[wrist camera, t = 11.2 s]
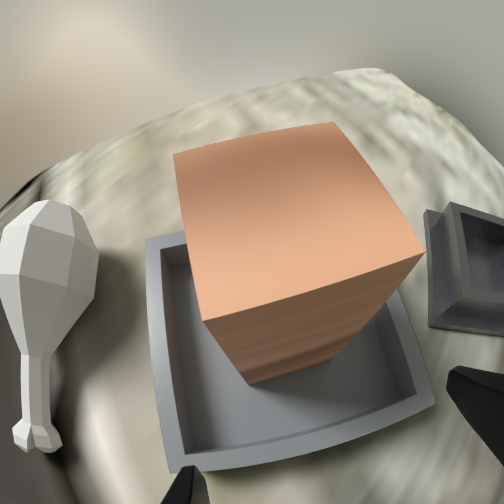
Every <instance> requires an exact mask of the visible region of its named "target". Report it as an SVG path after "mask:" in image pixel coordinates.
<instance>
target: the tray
mask: <svg viewBox="0 0 504 504" xmlns="http://www.w3.org/2000/svg"><path fill="white" fill-rule="evenodd" d="M145 269H146V297H147V315H148V330H149V342H150V353H151V362H152V371H153V380H154V387H155V395H156V402H157V408H158V415H159V421H160V427H161V433H162V438H163V443H164V448H165V453H166V458H167V463H168V468H169V472H170V474H173V473H179V471H180V469H181V468H182V467H183V466H189V465H195V466H196V467H197V468H198V470H199V471H200V472H205V471H215V470H224V469H232V468H239V467H245V466H252V465H257V464H263V463H268V462H273V461H278V460H282V459H287V458H291V457H295V456H299V455H303V454H307V453H311V452H314V451H318V450H322V449H325V448H328V447H332V446H335V445H338V444H341V443H344V442H347V441H350V440H353V439H356V438H359V437H361V436H364V435H367V434H369V433H372V432H375V431H377V430H380V429H382V428H384V427H387V426H389V425H392V424H394V423H396V422H399V421H401V420H403V419H405V418H407V417H410V416H412V415H414V414H416V413H418V412H420V411H422V410H424V409H426V408H428V407H430V406H432V405H434V404H436V400H435V397H434V393H433V390H432V386H431V383H430V379H429V376H428V373H427V370H426V366H425V363H424V360H423V357H422V354H421V351H420V348H419V345H418V342H417V340H416V337H415V334H414V331H413V328H412V326H411V323H410V320H409V318H408V315H407V312H406V310H405V307H404V305H403V302H402V300H401V297H400V295H399V292H398V290H397V289H396V290H395V291H394V292H393V294H392V295H391V296H390V297H389V298H388V300H387V301H386V302H385V303H384V304H383V305H382V307H381V308H380V309H379V310H378V311H377V312H376V313H375V315H374V316H373V317H372V318H371V319H370V320H369V321H368V322H367V323H366V325H365V326H364V327H363V328H362V329H361V330H360V331H359V332H358V333H357V334H356V335H355V336H354V337H353V338H352V339H351V341H350V342H349V343H348V344H347V345H346V346H345V347H344V348H343V349H342V350H341V351H340V352H339V353H338V354H337V355H336V356H335V357H334V358H333V359H332V360H329V361H327V362H324V363H321V364H318V365H315V366H312V367H309V368H306V369H303V370H300V371H297V372H294V373H291V374H288V375H284V376H281V377H278V378H274V379H271V380H267V381H264V382H260V383H257V384H253V385H248V384H247V383H246V382H245V380H244V379H243V378H242V376H241V375H240V373H239V372H238V371H237V369H236V368H235V367H234V365H233V364H232V363H231V361H230V360H229V358H228V357H227V356H226V354H225V353H224V351H223V350H222V349H221V347H220V346H219V344H218V343H217V342H216V340H215V339H214V337H213V336H212V334H211V333H210V331H209V330H208V329H207V327H206V326H205V324H204V323H203V321H202V317H201V313H200V308H199V303H198V298H197V294H196V289H195V284H194V279H193V274H192V269H191V263H190V258H189V253H188V247H187V242H186V236H185V231H181V232H176V233H172V234H167V235H163V236H159V237H154V238H150V239H146V240H145Z"/></svg>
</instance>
